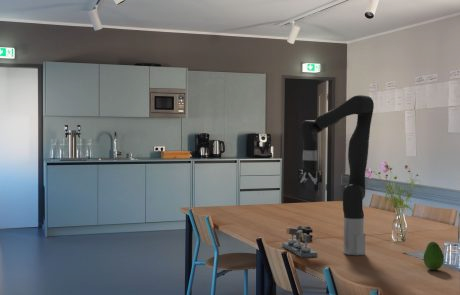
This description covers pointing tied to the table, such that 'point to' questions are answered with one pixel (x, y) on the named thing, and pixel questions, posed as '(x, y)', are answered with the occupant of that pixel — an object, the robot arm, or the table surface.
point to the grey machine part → (306, 231)
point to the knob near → (306, 239)
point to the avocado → (433, 256)
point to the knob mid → (298, 236)
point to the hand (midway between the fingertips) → (309, 190)
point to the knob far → (292, 232)
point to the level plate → (299, 250)
